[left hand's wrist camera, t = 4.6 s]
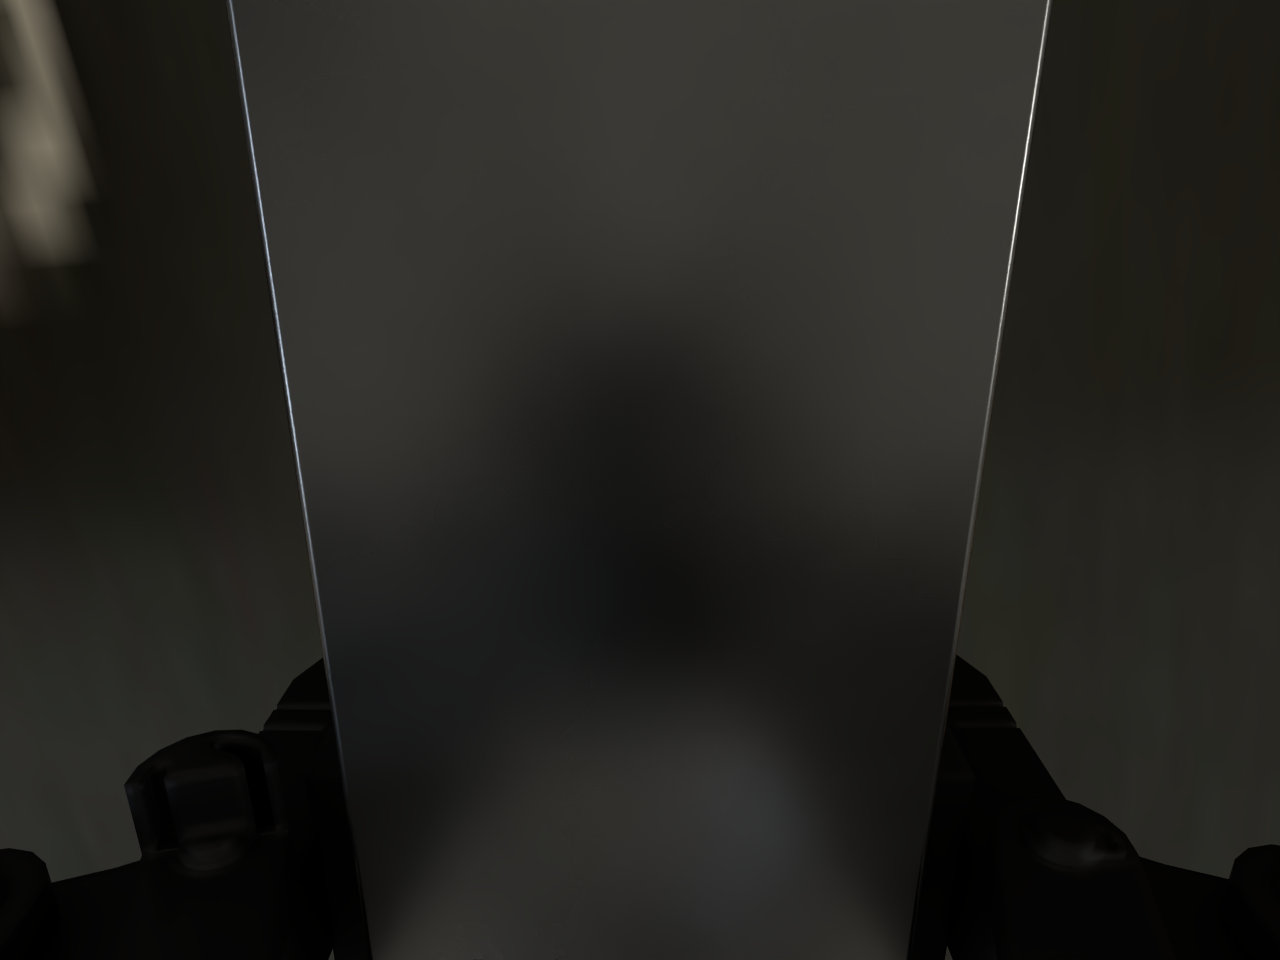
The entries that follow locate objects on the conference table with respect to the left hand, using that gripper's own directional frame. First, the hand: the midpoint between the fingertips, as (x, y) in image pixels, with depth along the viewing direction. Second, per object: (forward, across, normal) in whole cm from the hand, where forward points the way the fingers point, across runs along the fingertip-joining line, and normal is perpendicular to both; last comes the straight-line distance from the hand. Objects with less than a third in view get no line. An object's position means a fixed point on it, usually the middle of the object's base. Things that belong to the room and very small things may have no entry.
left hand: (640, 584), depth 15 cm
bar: (+1, 0, -13) cm, 13 cm away
